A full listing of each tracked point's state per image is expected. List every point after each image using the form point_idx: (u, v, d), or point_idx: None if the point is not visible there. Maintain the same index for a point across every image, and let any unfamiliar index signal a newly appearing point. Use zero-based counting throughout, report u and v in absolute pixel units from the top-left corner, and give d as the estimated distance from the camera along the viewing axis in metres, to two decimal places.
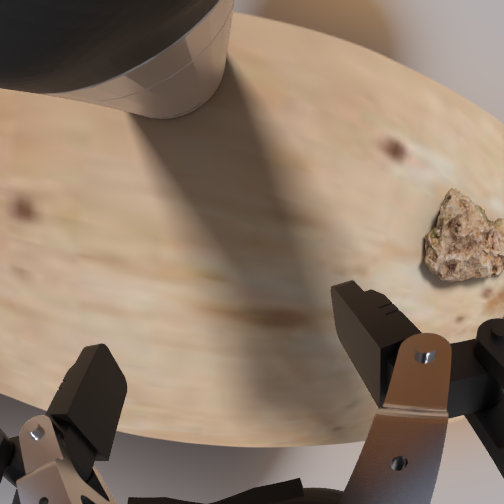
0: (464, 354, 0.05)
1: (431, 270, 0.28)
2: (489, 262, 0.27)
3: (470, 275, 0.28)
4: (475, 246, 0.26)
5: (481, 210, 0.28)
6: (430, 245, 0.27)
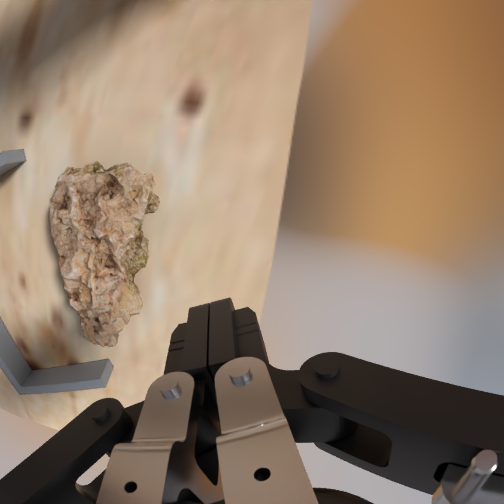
0: (291, 383, 0.07)
1: None
2: (78, 273, 0.23)
3: (58, 244, 0.22)
4: (90, 233, 0.22)
5: (142, 257, 0.26)
6: None
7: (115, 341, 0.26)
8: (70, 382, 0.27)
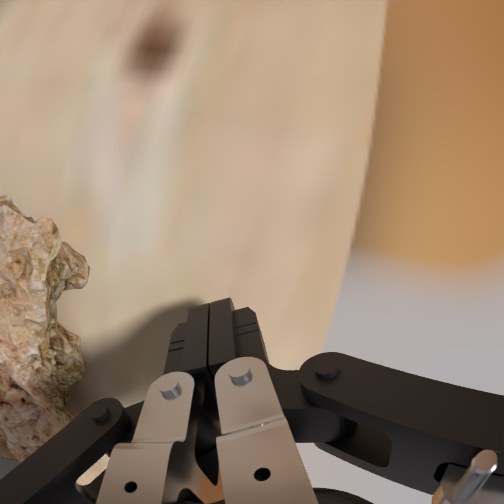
0: (291, 383, 0.07)
1: None
2: None
3: None
4: None
5: (73, 368, 0.12)
6: None
7: None
8: None
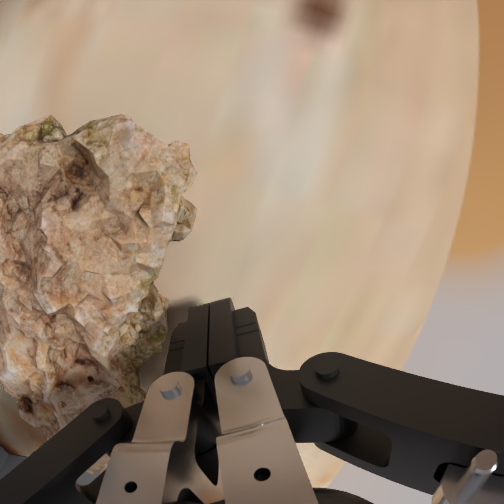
0: (291, 383, 0.07)
1: None
2: (19, 375, 0.08)
3: None
4: (29, 298, 0.08)
5: (156, 337, 0.12)
6: None
7: None
8: None
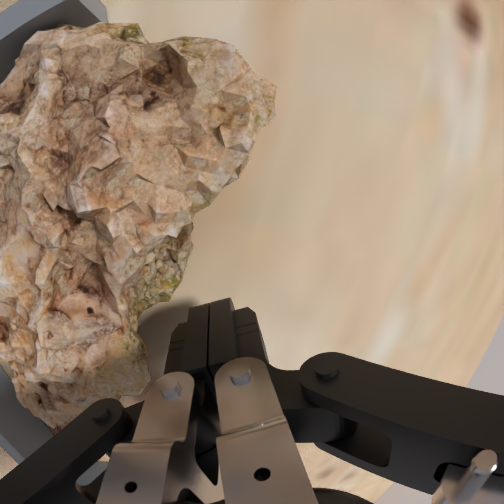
0: (291, 383, 0.07)
1: None
2: (8, 289, 0.07)
3: None
4: (57, 193, 0.07)
5: (170, 282, 0.11)
6: None
7: None
8: None
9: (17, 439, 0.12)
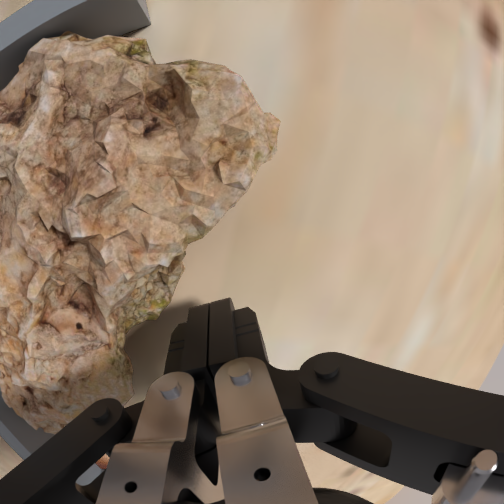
0: (291, 383, 0.07)
1: None
2: (0, 299, 0.07)
3: None
4: (52, 214, 0.07)
5: (159, 303, 0.11)
6: None
7: None
8: None
9: None
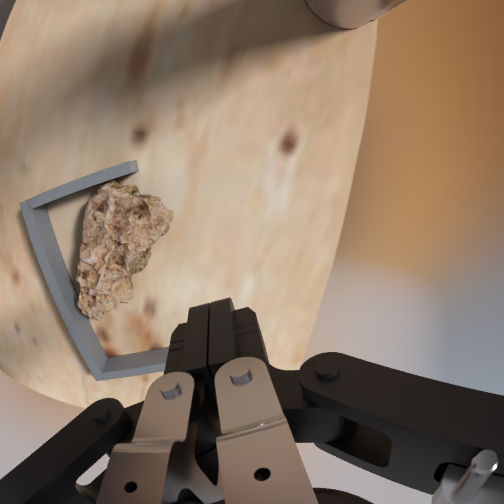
0: (291, 384, 0.07)
1: (102, 185, 0.30)
2: (94, 260, 0.30)
3: (86, 234, 0.30)
4: (115, 237, 0.30)
5: (143, 264, 0.35)
6: None
7: (101, 317, 0.34)
8: (160, 363, 0.36)
9: (83, 334, 0.34)
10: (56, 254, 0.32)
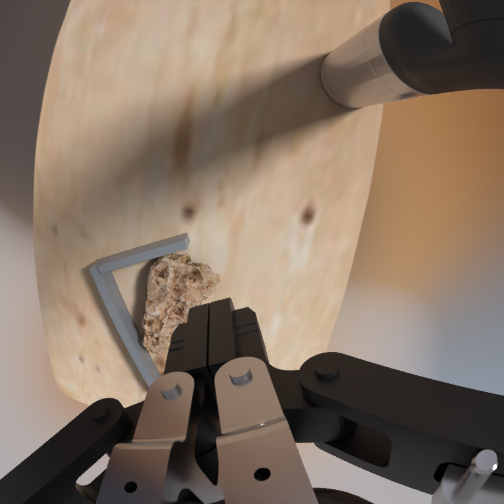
0: (291, 383, 0.07)
1: (161, 256, 0.41)
2: (158, 313, 0.42)
3: (150, 294, 0.41)
4: (175, 296, 0.41)
5: None
6: (180, 256, 0.42)
7: (162, 352, 0.45)
8: None
9: (146, 364, 0.46)
10: (122, 304, 0.44)
